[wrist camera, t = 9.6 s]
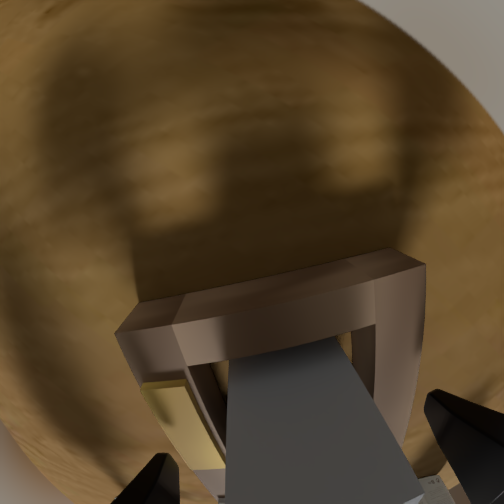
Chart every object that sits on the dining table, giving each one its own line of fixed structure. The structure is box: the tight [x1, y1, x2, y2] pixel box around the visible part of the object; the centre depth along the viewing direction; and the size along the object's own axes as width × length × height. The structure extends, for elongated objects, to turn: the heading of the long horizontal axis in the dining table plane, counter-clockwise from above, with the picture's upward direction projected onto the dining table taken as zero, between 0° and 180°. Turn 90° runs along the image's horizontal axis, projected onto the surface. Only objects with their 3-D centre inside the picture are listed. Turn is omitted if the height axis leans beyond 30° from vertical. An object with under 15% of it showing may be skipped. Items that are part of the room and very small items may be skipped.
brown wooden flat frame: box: [114, 248, 426, 504], centre depth 11 cm, size 10×18×3 cm, turn 12°
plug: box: [225, 336, 425, 504], centre depth 7 cm, size 4×4×9 cm
